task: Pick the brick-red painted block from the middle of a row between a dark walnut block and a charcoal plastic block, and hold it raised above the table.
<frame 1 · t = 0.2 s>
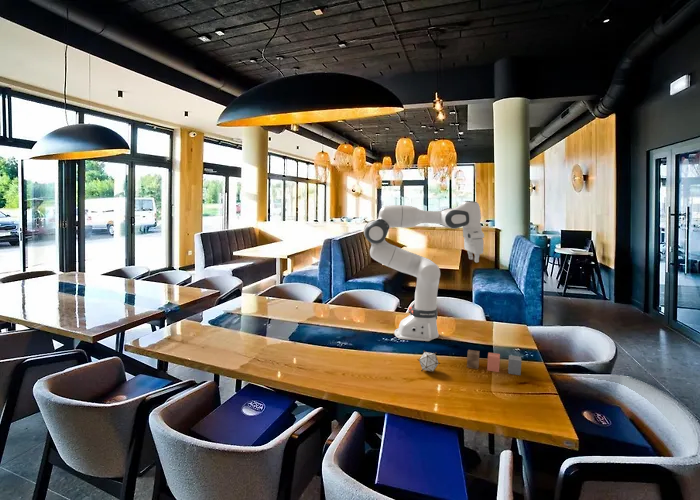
hand: (473, 260, 197), 39 cm above the table, tool pointing down, fingers open, 8 cm apart
game die: (428, 371, 159), on the table
grey block: (514, 372, 158), on the table
red block: (493, 369, 161), on the table
walnut block: (472, 366, 164), on the table
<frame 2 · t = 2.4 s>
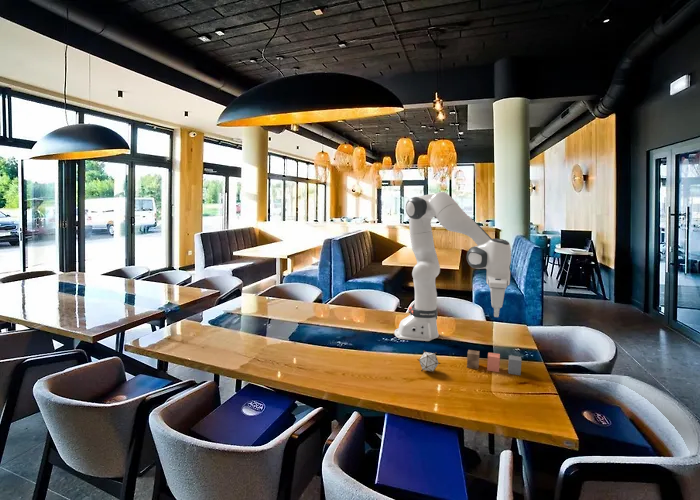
hand: (496, 313, 158), 23 cm above the table, tool pointing down, fingers open, 8 cm apart
nothing on the table moved.
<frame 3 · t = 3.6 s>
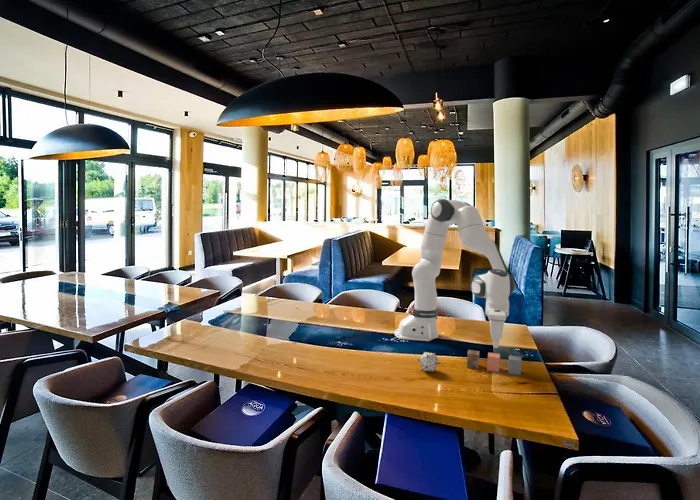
hand: (495, 343, 160), 11 cm above the table, tool pointing down, fingers open, 8 cm apart
nothing on the table moved.
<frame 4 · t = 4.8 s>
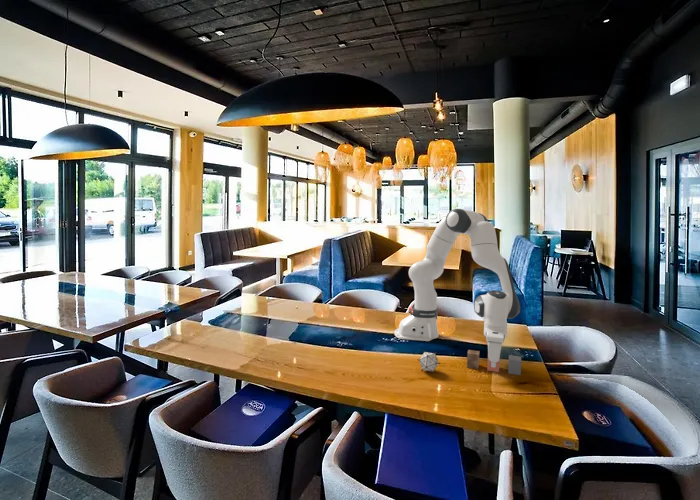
hand: (493, 364, 161), 2 cm above the table, tool pointing down, fingers closed on red block, 5 cm apart
red block: (493, 369, 161), on the table, touching gripper
everything else where it was.
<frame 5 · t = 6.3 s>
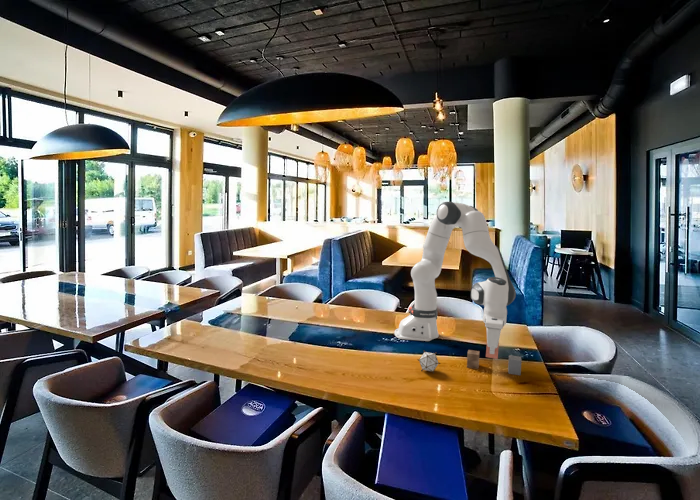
hand: (492, 350, 160), 8 cm above the table, tool pointing down, fingers closed on red block, 4 cm apart
red block: (491, 356, 161), point 5 cm above the table, touching gripper
everything else where it was.
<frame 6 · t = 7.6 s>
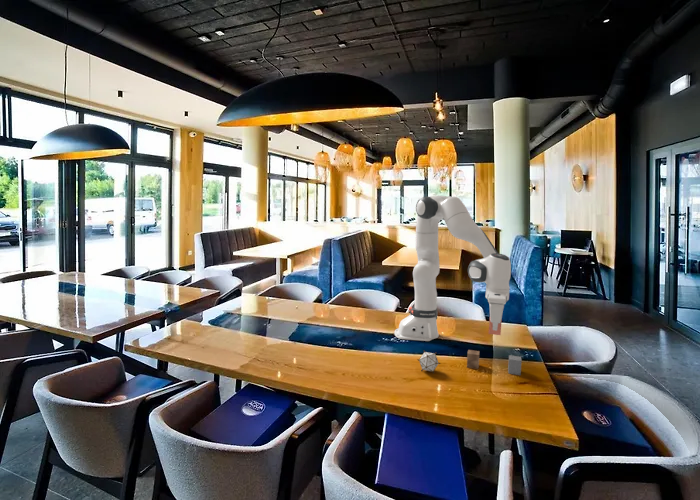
hand: (494, 327, 159), 17 cm above the table, tool pointing down, fingers closed on red block, 4 cm apart
red block: (494, 332, 160), point 15 cm above the table, touching gripper
everything else where it was.
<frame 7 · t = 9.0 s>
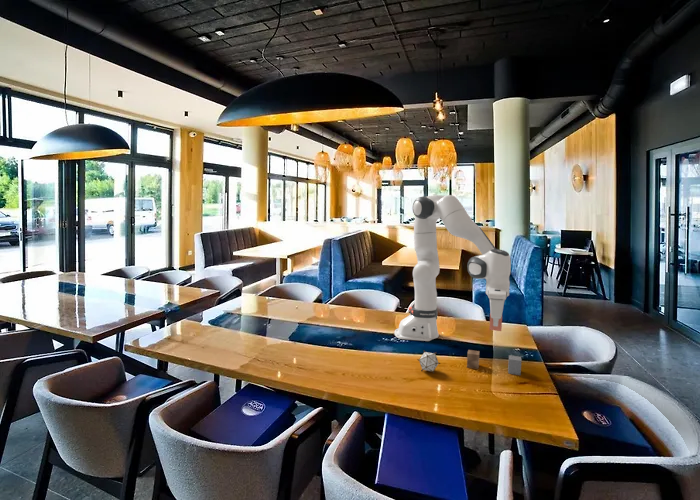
hand: (495, 323, 159), 19 cm above the table, tool pointing down, fingers closed on red block, 4 cm apart
red block: (495, 328, 159), point 17 cm above the table, touching gripper
everything else where it was.
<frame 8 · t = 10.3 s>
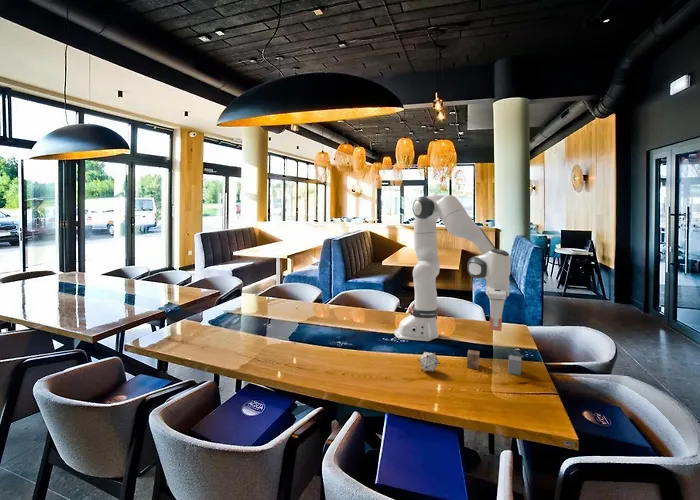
hand: (495, 323, 159), 19 cm above the table, tool pointing down, fingers closed on red block, 4 cm apart
red block: (495, 328, 159), point 17 cm above the table, touching gripper
everything else where it was.
at the end: red block point 17.0 cm above the table; walnut block moved 0.1 cm from its start; grey block moved 0.1 cm from its start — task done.
